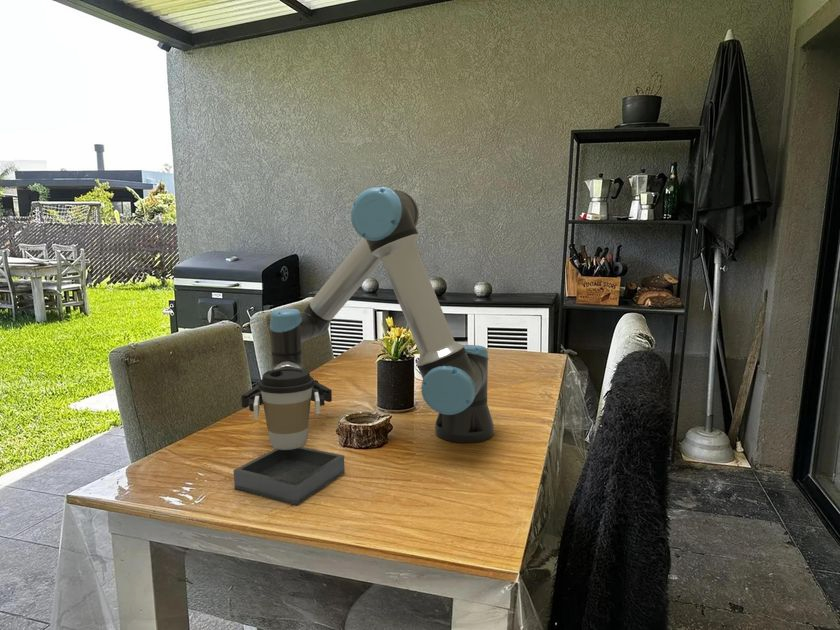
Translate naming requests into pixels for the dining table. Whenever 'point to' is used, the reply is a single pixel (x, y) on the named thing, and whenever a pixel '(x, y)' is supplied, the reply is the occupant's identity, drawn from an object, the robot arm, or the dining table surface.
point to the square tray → (289, 474)
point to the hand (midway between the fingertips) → (287, 409)
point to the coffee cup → (287, 406)
